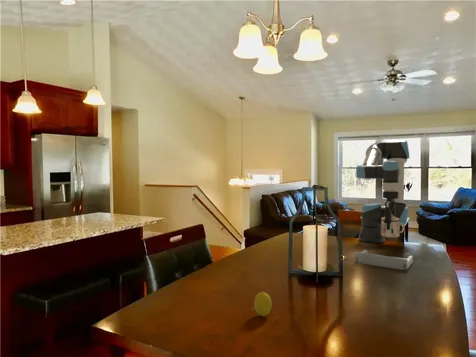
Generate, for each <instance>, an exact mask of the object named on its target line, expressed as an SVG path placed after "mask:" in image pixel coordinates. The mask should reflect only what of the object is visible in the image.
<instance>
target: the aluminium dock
mask: <svg viewBox="0 0 476 357" xmlns="http://www.w3.org/2000/svg"><path fill="white" fill-rule="evenodd" d="M354 252H355V253H354V262H355V264H361V265H362V264H363V265H368V266H376V267H381V268H387V269H388V268H389V269H395V270H402V271H408V270H409V268H410V267H411V266H412V264H413V262H414V255H409V256H408V257H407V258H406V257H405V258H403V257H399V256H398V257H397V256H388V255H382V254H376V253H375V254H373V253H368V250H367V249H364V250H362V251H361V252H360V251H354Z"/></svg>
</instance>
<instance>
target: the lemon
mask: <svg viewBox="0 0 476 357" xmlns="http://www.w3.org/2000/svg"><path fill="white" fill-rule="evenodd" d="M271 298H272V297H271V296H270V294H268V293H267V292H265V291H261V292H259V293H257V294H256V295H255V297H254V300H253V306H254V310H255V312H256V313H257V314H258V315H259V316H260V317H263V318H264V317H265V316H267V315H268V314H269V313H270V312H271V310H272V299H271Z"/></svg>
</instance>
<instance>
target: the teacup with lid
mask: <svg viewBox="0 0 476 357" xmlns="http://www.w3.org/2000/svg"><path fill="white" fill-rule="evenodd" d="M392 215H393V214H392ZM384 222H385V217H383V218H381V235H382V236H384V238H385V237H386V238H399V237H400V234H401V233H403V232H405V225H403V224H402V223H400V219H399V218H396V217H395V216H392V217H391V236H386V223H384ZM400 225H402V226H401V227H402V229H401V231H400Z"/></svg>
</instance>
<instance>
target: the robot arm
mask: <svg viewBox="0 0 476 357" xmlns="http://www.w3.org/2000/svg"><path fill="white" fill-rule="evenodd" d="M408 159H410V151H409V144H408V141H407V140H403V139H402V140H400V139H399V140H396V139H395V140H381V141H377V142H374V143H372V144H370V145H369V146H368V147H367V149H366V150H365V158H364V161H363V163H362V164H361V165H357V166H356V168H355V169H356V170H355V172H356V173H355V175H356V178H357V179H363V180H373V179H374V180H375V179H376V180H377V179H378V180H379V179H381V180H382V184H381V186H382V199H386V202H384V205H383V204H382V203H379V202H375V203H365V204H364V205H361V206H362V207H361V212H360V213H361V229H360V232H359V235H358V241H361V242H363V243H364V242H365V243H370V244H371V243H373V244H374V243H375V244H379V243H380V244H381V243H384V242H385V237H384V236H382V235H381V218H383V217H385V222H384V223H386V236H391V217H392V216H395V217H396V218H399V219H400V223H402V224H403V225H404V226H406V225H407V222H408V218H409V210H410V208H409V207H408V206H407V203H406V202H405V200H404V198H405V196H404V194H405V191H404V190H405V164H406V163H407V161H408ZM379 160H386V161H383V162H382V164H381V165H380V164H379V165H378V163H379ZM392 214H393V215H392ZM400 226H401V227H402V225H400ZM400 226H399V227H400Z"/></svg>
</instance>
